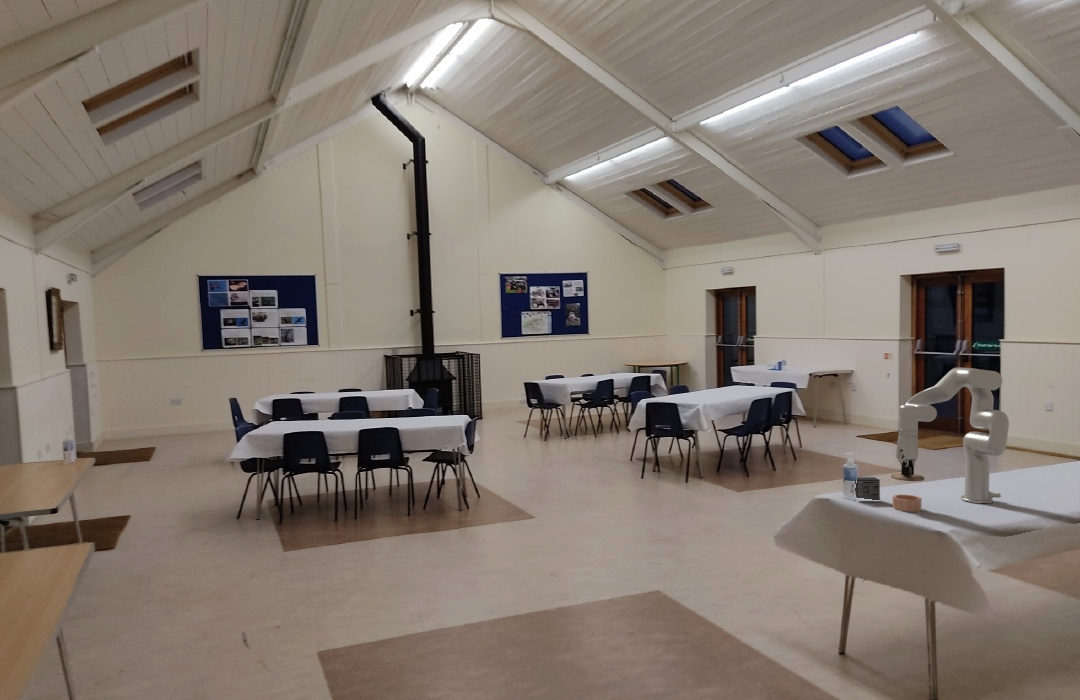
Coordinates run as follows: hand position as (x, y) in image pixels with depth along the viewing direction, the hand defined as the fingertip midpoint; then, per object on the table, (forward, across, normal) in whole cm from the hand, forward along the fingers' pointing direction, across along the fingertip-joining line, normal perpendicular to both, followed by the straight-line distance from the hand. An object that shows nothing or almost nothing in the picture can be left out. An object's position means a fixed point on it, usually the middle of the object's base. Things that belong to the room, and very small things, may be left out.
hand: (907, 474), depth 323 cm
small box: (+16, +1, -19) cm, 25 cm away
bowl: (+15, 0, 0) cm, 15 cm away
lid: (+2, 0, 0) cm, 2 cm away
